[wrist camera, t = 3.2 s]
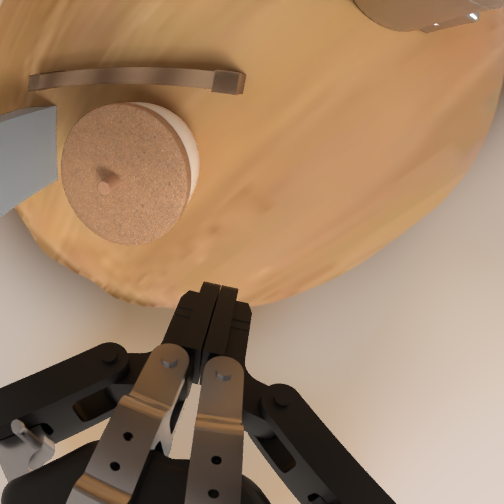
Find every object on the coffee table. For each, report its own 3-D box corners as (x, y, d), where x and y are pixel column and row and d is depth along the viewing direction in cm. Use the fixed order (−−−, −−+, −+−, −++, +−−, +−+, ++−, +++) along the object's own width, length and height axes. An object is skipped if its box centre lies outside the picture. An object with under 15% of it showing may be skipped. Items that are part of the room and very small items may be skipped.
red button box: (56, 105, 26) (-17, 128, 16) (57, 179, 32) (-5, 220, 21) (20, 108, 26) (-46, 132, 16) (23, 174, 32) (-35, 210, 21)
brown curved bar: (246, 74, 24) (239, 72, 20) (242, 93, 25) (235, 94, 21) (53, 72, 24) (29, 75, 20) (52, 87, 25) (28, 91, 21)
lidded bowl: (156, 225, 34) (113, 280, 25) (91, 148, 29) (28, 180, 20) (239, 163, 29) (215, 205, 20) (164, 72, 24) (105, 71, 15)
